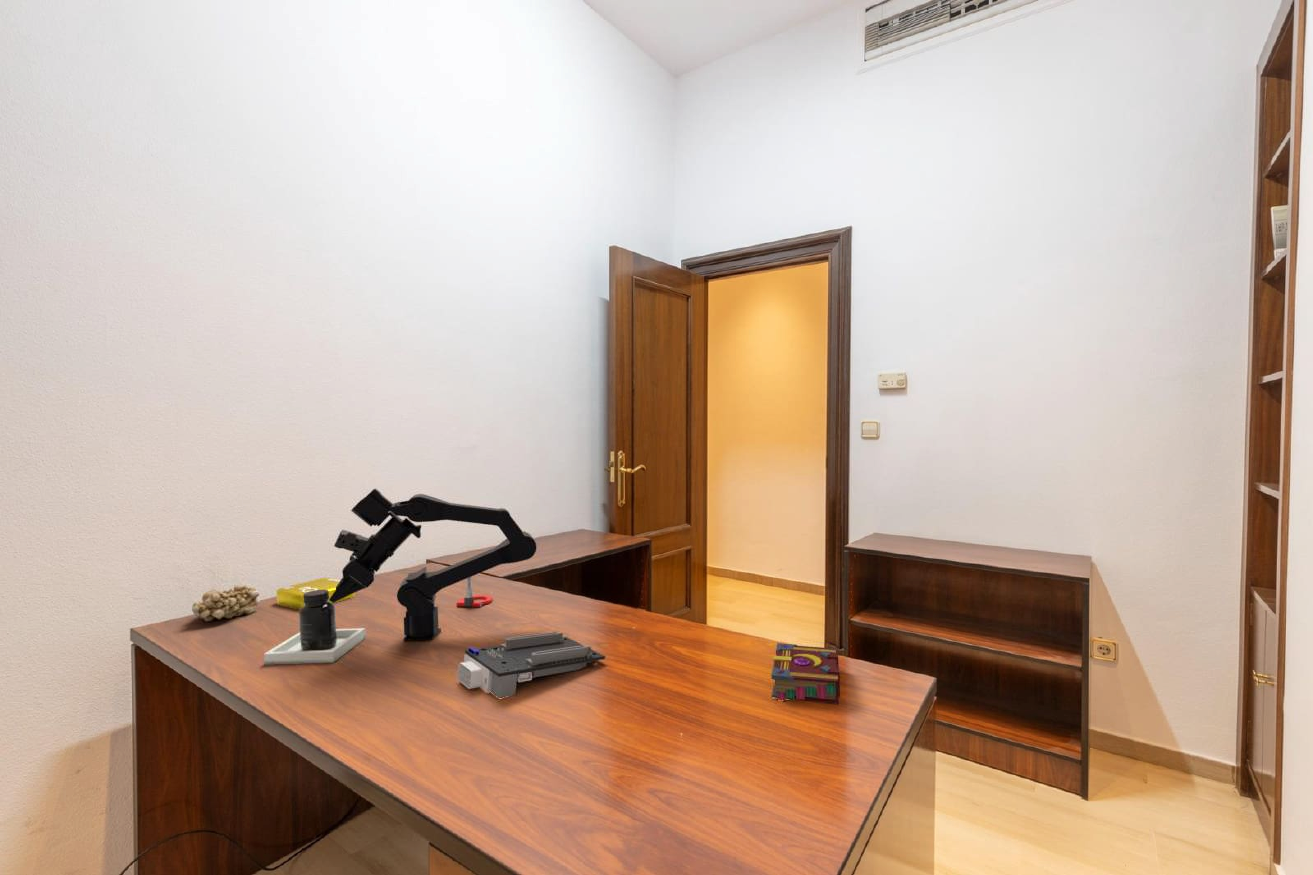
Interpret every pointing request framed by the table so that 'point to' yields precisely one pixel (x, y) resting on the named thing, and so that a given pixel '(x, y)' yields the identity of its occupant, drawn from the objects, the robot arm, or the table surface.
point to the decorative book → (806, 673)
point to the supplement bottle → (317, 621)
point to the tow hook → (473, 597)
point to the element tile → (294, 593)
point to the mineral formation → (227, 603)
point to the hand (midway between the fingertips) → (334, 595)
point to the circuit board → (522, 661)
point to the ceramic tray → (295, 655)
